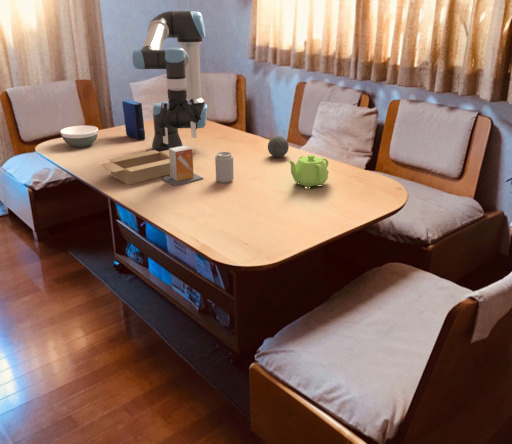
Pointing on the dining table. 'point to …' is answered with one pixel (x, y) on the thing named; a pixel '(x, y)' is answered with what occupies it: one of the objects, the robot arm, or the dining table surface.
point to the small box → (181, 163)
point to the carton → (139, 166)
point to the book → (133, 119)
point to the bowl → (79, 135)
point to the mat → (176, 183)
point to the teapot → (310, 170)
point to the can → (224, 167)
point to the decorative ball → (278, 146)
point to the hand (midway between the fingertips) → (180, 140)
